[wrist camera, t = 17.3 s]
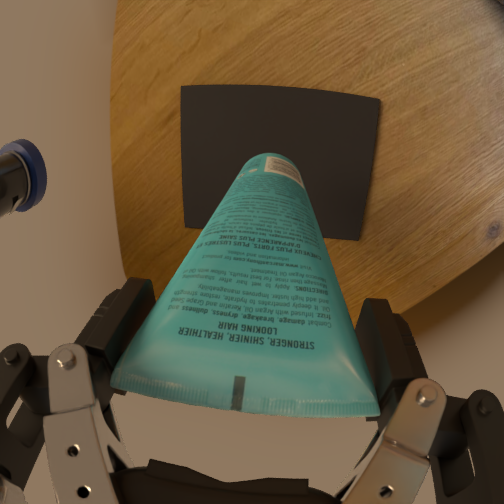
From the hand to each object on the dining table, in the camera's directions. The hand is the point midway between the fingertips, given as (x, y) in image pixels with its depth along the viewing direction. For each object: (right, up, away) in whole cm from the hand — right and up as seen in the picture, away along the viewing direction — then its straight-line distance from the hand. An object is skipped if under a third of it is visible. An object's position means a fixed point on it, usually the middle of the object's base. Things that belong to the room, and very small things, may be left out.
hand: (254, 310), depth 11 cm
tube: (+1, +7, +13) cm, 15 cm away
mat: (+2, +11, +20) cm, 23 cm away
